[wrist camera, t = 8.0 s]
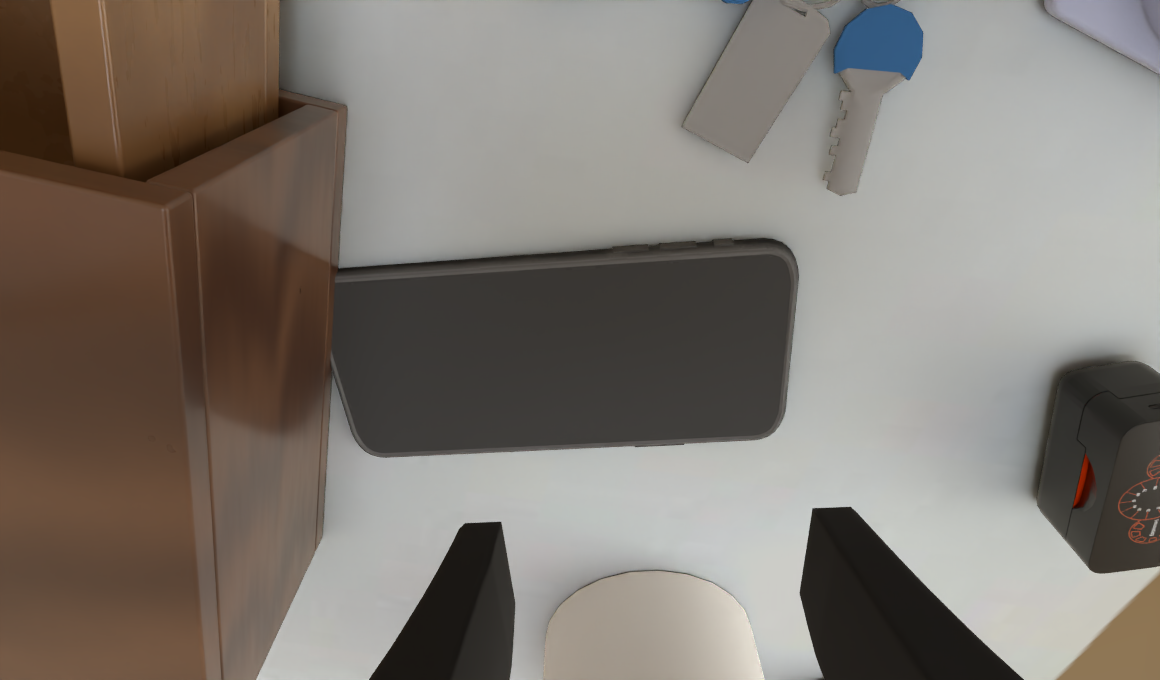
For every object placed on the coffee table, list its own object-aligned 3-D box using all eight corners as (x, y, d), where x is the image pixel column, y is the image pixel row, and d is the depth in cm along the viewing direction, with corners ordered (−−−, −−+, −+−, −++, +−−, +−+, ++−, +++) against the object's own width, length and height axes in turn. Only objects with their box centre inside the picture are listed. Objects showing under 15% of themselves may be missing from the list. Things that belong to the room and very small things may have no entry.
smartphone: (296, 273, 19) (805, 239, 18) (308, 261, 20) (796, 228, 19) (358, 463, 23) (785, 443, 22) (366, 447, 24) (778, 426, 23)
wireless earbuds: (1023, 521, 25) (1081, 592, 22) (1052, 365, 21) (1124, 425, 18) (1154, 502, 24) (1230, 573, 21) (1205, 340, 21) (1304, 398, 18)
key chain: (1156, -353, 13) (1191, -372, 12) (1156, 61, 16) (1183, 65, 16) (521, -23, 16) (518, -22, 15) (644, 265, 19) (646, 276, 19)
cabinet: (-171, -22, 16) (-850, -18, 8) (348, 105, 17) (166, 206, 10) (-23, 478, 24) (-301, 709, 16) (322, 537, 25) (212, 774, 18)
